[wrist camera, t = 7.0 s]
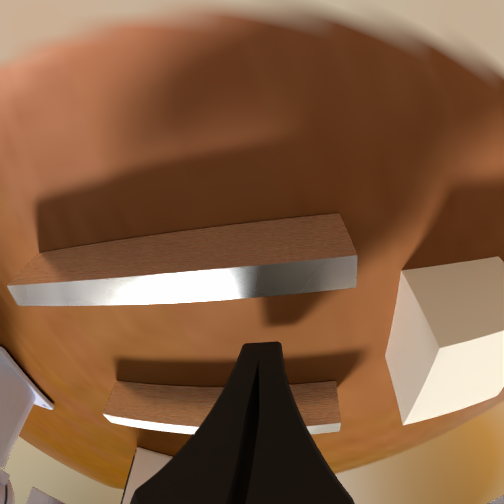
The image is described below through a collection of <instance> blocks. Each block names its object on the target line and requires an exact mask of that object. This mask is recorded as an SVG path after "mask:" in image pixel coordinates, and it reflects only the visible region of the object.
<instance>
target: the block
mask: <svg viewBox="0 0 504 504" xmlns="http://www.w3.org/2000/svg"><path fill="white" fill-rule="evenodd" d="M385 357H386V361H387V364H388V368H389V372H390V375H391V379H392V383H393V386H394V390H395V394H396V398H397V402H398V406H399V410H400V414H401V419H402V423H403V425H406V424H410V423H415V422H419V421H422V420H426V419H430V418H433V417H437V416H440V415H444V414H447V413H450V412H453V411H457V410H460V409H463V408H466V407H468V406H471V405H474V404H477V403H480V402H482V401H485V400H487V399H490V398H492V397H495V396H497V395H498V394H499V392H500V391H501V390H502V388H503V387H504V262H503V261H502V260H501V259H500V257H499V256H498V257H491V258H485V259H479V260H472V261H466V262H459V263H452V264H446V265H439V266H431V267H424V268H417V269H409V270H401V275H400V282H399V289H398V295H397V301H396V307H395V312H394V317H393V322H392V327H391V332H390V337H389V341H388V346H387V350H386V354H385Z"/></svg>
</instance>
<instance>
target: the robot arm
mask: <svg viewBox="0 0 504 504" xmlns="http://www.w3.org/2000/svg"><path fill="white" fill-rule="evenodd" d="M34 404H36V405H38V406H41V407H44V408H47V409H50V410H53V409H54V405H53V404H52V403H51V402H50V401H49V400H48V399H47V398H46V397H45V396H44V395H43V394H42V393H41V392H40V391H39V389H38V388H37V387H36V386H35V385H34V384H33V383H32V382H31V381H30V379H29V378H28V377H27V376H26V375H25V374H24V372H23V371H22V370H21V369H20V368H19V366H18V365H17V364H16V363H15V362H14V360H13V359H12V358H11V357H10V355H9V354H8V353H7V351H6V350H5V349H4V348H2V347H1V346H0V467H2V468H3V469H5V466H6V464H7V461H8V459H9V456H10V454H11V452H12V449H13V447H14V445H15V442H16V440H17V438H18V436H19V434H20V431H21V429H22V427H23V425H24V423H25V421H26V419H27V417H28V415H29V413H30V411H31V409H32V407H33V405H34ZM9 476H10V475H9V474H7V473H6V472H4V471H3V470H2V469H0V504H14V492H13V489H12V485H11V483H10V480H9ZM27 504H65V503H63V502H61V501H59V500H57V499H55V498H53V497H51V496H49V495H47V494H45V493H44V492H42V491H40V490H38V489H37V488H35V487H32V489H31V492H30V495H29V497H28V500H27ZM130 504H355V503H354V501H353V499H352V497H351V496H350V495H349V493H348V492H347V491H346V490H345V488H344V487H343V486H342V484H341V483H340V482H339V480H338V479H337V477H336V476H335V474H334V473H333V471H332V470H331V469H330V467H329V465H328V464H327V462H326V461H325V459H324V457H323V456H322V454H321V452H320V451H319V449H318V447H317V446H316V444H315V442H314V440H313V438H312V437H311V435H310V433H309V431H308V429H307V427H306V425H305V423H304V421H303V418H302V416H301V414H300V412H299V409H298V407H297V405H296V402H295V400H294V397H293V394H292V391H291V389H290V386H289V383H288V380H287V376H286V373H285V366H284V359H283V352H282V345H281V343H280V342H264V343H246V344H244V345H243V346H242V349H241V352H240V354H239V357H238V359H237V362H236V364H235V366H234V368H233V371H232V373H231V375H230V377H229V379H228V381H227V383H226V385H225V386H224V388H223V390H222V392H221V394H220V396H219V397H218V399H217V401H216V402H215V404H214V406H213V407H212V409H211V410H210V412H209V414H208V415H207V417H206V418H205V419H204V421H203V422H202V424H201V425H200V426H199V428H198V429H197V430H196V432H195V433H194V434H193V435H192V437H191V438H190V439H189V440H188V441H187V443H186V444H185V445H184V446H183V447H182V448H181V450H180V451H179V452H178V453H177V454H176V455H175V456H174V457H173V458H172V459H171V460H170V461H169V462H168V463H167V464H166V465H165V466H164V467H162V468H161V469H160V470H159V471H158V472H157V473H156V474H155V475H153V476H152V477H151V478H150V479H148V480H147V481H146V482H145V483H143V484H142V485H141V486H139V487H138V488H137V489H136V490H135V492H134V494H133V496H132V499H131V501H130ZM487 504H504V495H503V496H501V497H499V498H497V499H495V500H493V501H491V502H489V503H487Z"/></svg>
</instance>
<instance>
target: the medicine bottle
mask: <svg viewBox="0 0 504 504" xmlns="http://www.w3.org/2000/svg"><path fill="white" fill-rule="evenodd" d="M172 458H173V457H172V456H168V455H165V454H161V453H157V452H154V451H150V450H147V449H144V448H141V447H138V448H136V450H135V453H134V457H133V460H132V464H131V467H130V471H129V475H128V478H127V482H126V485H125V489H124V493H123V497H122V501H121V504H130V501H131V499H132V496H133V494H134V492H135V490H136V489H137V488H138V487H139V486H141V485H142V484H143V483H145V482H146V481H147V480H148V479H150V478H151V477H152V476H153V475H155V474H156V473H157V472H158V471H159V470H160V469H161V468H162V467H164V466H165V465H166V464H167V463H168V462H169V461H170V460H171V459H172Z"/></svg>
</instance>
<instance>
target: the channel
mask: <svg viewBox="0 0 504 504" xmlns="http://www.w3.org/2000/svg"><path fill="white" fill-rule="evenodd" d="M357 257H358V255H357V253H356V250H355V248H354V245H353V243H352V241H351V238H350V236H349V234H348V231H347V229H346V227H345V224H344V222H343V220H342V218H341V215H340V213H336V214H326V215H316V216H306V217H296V218H287V219H278V220H269V221H260V222H251V223H242V224H234V225H226V226H218V227H210V228H202V229H194V230H187V231H179V232H172V233H164V234H157V235H150V236H143V237H136V238H129V239H122V240H116V241H109V242H103V243H96V244H90V245H83V246H77V247H71V248H65V249H59V250H53V251H47V252H41V253H38V254H37V255H36V256H35V257H34V258H33V259H32V260H31V261H30V262H29V263H28V264H27V265H26V266H25V267H24V268H23V269H22V270H21V271H20V272H19V273H18V274H17V275H16V276H15V277H14V278H13V279H12V281H11V282H10V283H9V284H8V285H7V287H8V289H9V291H10V293H11V294H12V296H13V298H14V300H15V301H16V303H17V305H18V306H93V305H132V304H157V303H178V302H196V301H212V300H227V299H241V298H254V297H266V296H277V295H288V294H299V293H309V292H319V291H328V290H337V289H346V288H355V287H356V283H357ZM289 386H290V389H291V391H292V394H293V397H294V400H295V402H296V405H297V407H298V409H299V412H300V414H301V416H302V418H303V421H304V423H305V425H306V427H307V429H308V431H309V433H310V434H318V433H328V432H337V431H339V430H340V425H341V420H340V411H339V402H338V394H337V386H336V380H335V381H327V382H317V383H306V384H294V385H289ZM223 388H224V387H193V386H171V385H156V384H143V383H133V382H123V381H116V382H115V384H114V387H113V389H112V392H111V394H110V396H109V399H108V401H107V404H106V406H105V409H104V411H103V415H104V416H105V417H106V418H107V419H108V420H109V421H110V422H111V423H116V424H121V425H127V426H132V427H138V428H145V429H151V430H159V431H166V432H175V433H185V434H194V433H195V432H196V430H197V429H198V428H199V426H200V425H201V424H202V422H203V421H204V419H205V418H206V417H207V415H208V414H209V412H210V410H211V409H212V407H213V406H214V404H215V402H216V401H217V399H218V397H219V396H220V394H221V392H222V390H223Z"/></svg>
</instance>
